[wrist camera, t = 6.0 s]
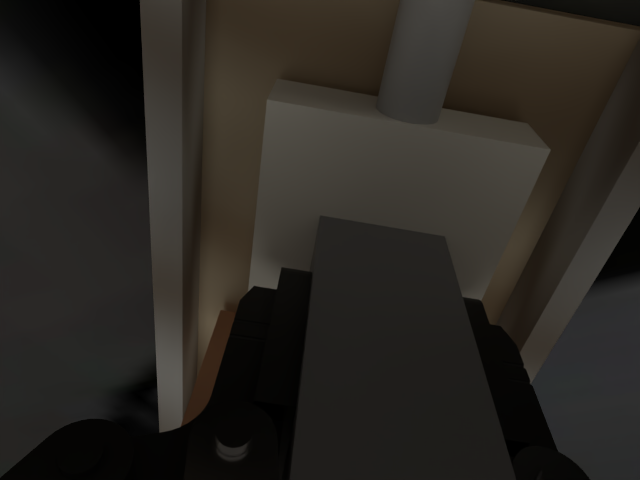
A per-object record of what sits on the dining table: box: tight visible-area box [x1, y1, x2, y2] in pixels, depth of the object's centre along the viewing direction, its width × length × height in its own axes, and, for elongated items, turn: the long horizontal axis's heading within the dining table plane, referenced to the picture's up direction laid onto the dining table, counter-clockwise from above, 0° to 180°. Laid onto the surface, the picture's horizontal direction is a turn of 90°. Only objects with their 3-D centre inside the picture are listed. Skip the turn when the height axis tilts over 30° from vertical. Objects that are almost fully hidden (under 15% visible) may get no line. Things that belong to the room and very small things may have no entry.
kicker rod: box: [180, 0, 550, 480], centre depth 9 cm, size 14×8×9 cm, turn 171°
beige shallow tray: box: [140, 0, 640, 432], centre depth 14 cm, size 15×12×3 cm
